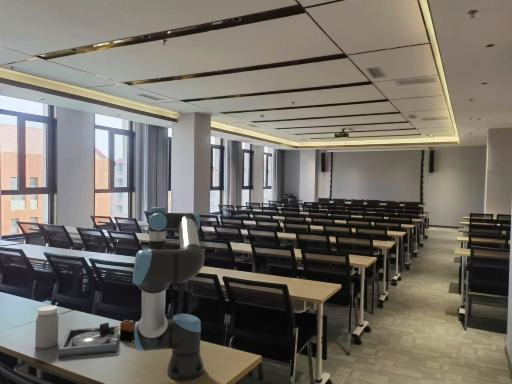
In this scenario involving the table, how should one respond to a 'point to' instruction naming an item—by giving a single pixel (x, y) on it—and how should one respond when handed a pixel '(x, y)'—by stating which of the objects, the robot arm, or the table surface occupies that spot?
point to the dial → (93, 337)
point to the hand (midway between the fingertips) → (155, 290)
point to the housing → (70, 351)
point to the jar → (46, 327)
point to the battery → (127, 330)
